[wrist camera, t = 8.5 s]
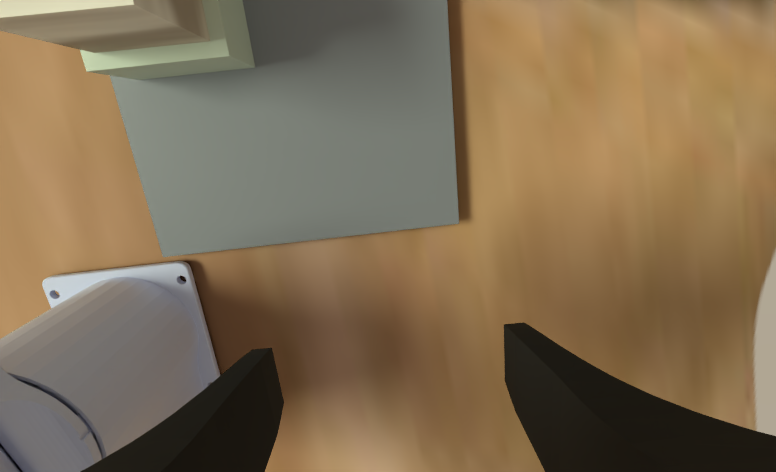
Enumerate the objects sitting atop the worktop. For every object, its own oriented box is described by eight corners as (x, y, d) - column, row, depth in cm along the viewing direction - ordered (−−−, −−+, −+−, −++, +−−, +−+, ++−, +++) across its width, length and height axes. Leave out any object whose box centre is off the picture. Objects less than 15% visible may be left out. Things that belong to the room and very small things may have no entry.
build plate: (456, 220, 22) (459, 223, 21) (168, 253, 21) (163, 257, 21) (438, -106, 17) (441, -114, 17) (75, -68, 17) (65, -75, 16)
